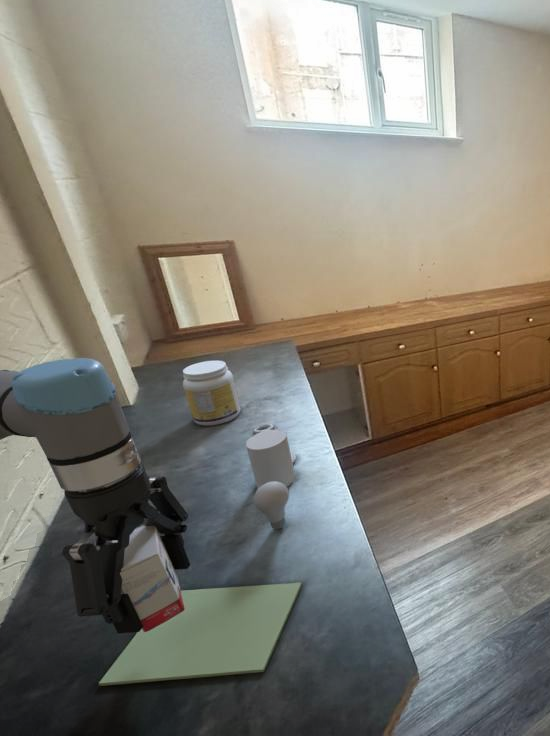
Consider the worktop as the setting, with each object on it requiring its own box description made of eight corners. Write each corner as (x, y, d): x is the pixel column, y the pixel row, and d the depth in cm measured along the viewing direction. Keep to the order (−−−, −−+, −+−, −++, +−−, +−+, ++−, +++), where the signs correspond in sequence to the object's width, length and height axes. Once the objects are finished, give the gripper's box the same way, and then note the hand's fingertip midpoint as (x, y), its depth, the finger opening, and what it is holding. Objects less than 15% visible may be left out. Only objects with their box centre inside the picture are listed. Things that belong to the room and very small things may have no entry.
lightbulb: (287, 512, 87) (278, 471, 83) (300, 526, 83) (291, 483, 79) (257, 528, 82) (245, 486, 78) (269, 544, 79) (257, 500, 75)
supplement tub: (203, 409, 126) (189, 361, 120) (247, 405, 130) (235, 357, 124) (187, 430, 115) (170, 377, 109) (235, 424, 119) (221, 373, 113)
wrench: (277, 472, 100) (299, 463, 103) (275, 467, 99) (298, 458, 102) (252, 430, 116) (272, 424, 119) (250, 425, 115) (271, 419, 119)
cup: (302, 471, 99) (293, 430, 95) (281, 494, 92) (271, 450, 87) (271, 469, 100) (262, 428, 96) (248, 491, 93) (237, 447, 88)
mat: (99, 686, 56) (98, 683, 55) (169, 593, 69) (169, 591, 68) (264, 671, 58) (263, 669, 58) (302, 584, 71) (301, 582, 71)
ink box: (185, 612, 59) (161, 553, 55) (140, 636, 56) (111, 576, 51) (178, 574, 65) (156, 518, 60) (137, 594, 61) (110, 536, 57)
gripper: (53, 541, 42) (125, 675, 50) (190, 428, 62) (225, 536, 70) (-27, 545, 41) (59, 681, 49) (139, 429, 61) (180, 539, 69)
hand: (157, 596), depth 60 cm, fingers closed on ink box, 9 cm apart
